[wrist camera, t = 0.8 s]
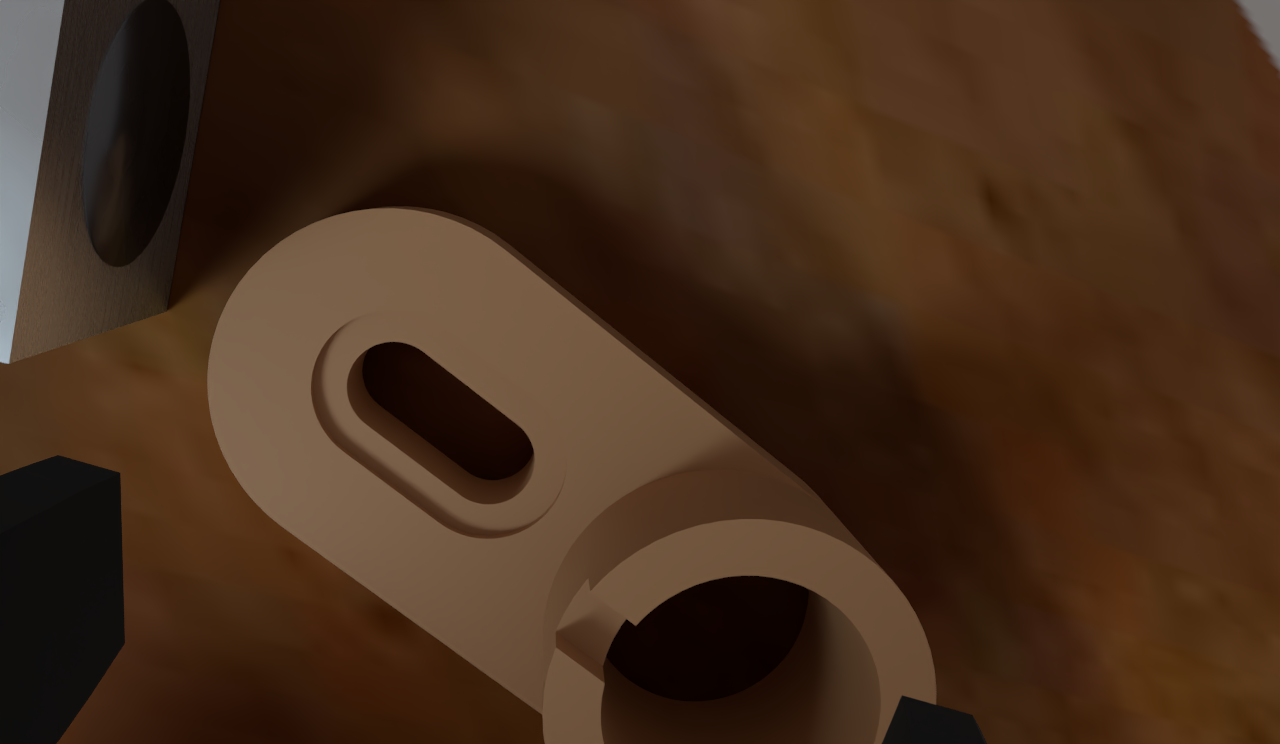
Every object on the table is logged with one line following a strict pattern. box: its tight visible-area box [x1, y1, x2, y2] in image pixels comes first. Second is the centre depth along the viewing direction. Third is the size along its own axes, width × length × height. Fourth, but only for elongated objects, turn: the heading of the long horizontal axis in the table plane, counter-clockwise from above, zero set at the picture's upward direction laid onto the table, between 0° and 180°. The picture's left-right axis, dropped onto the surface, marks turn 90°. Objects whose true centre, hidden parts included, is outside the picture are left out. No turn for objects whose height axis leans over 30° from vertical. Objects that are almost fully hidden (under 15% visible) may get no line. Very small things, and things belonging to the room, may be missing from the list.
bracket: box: [207, 206, 936, 744], centre depth 26 cm, size 18×8×7 cm, turn 51°
